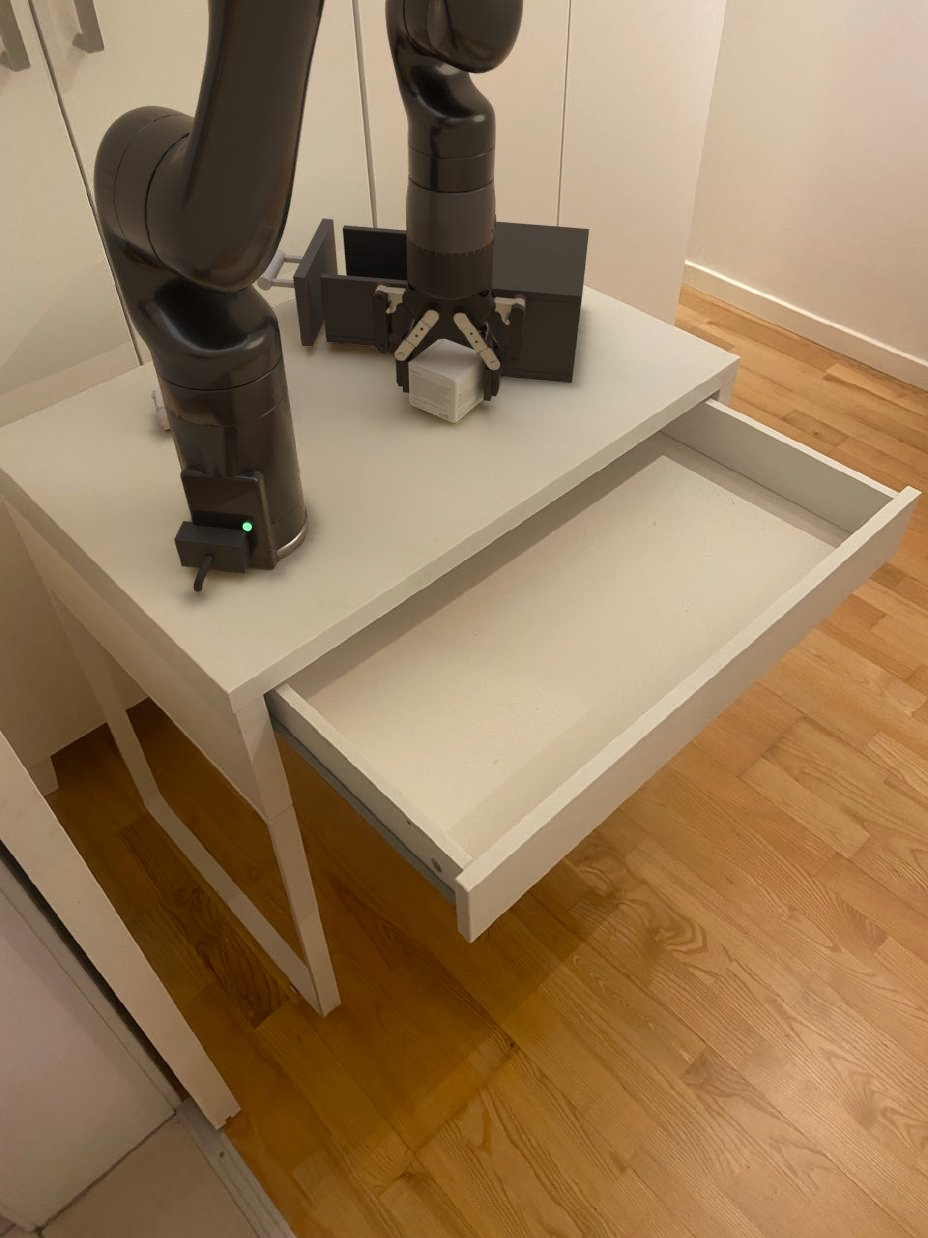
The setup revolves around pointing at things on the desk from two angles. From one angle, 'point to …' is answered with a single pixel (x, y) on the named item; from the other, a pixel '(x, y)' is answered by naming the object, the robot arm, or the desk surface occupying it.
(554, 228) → the dark brown box
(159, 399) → the smartwatch
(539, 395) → the desk surface
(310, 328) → the open dark drawer
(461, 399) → the small box
